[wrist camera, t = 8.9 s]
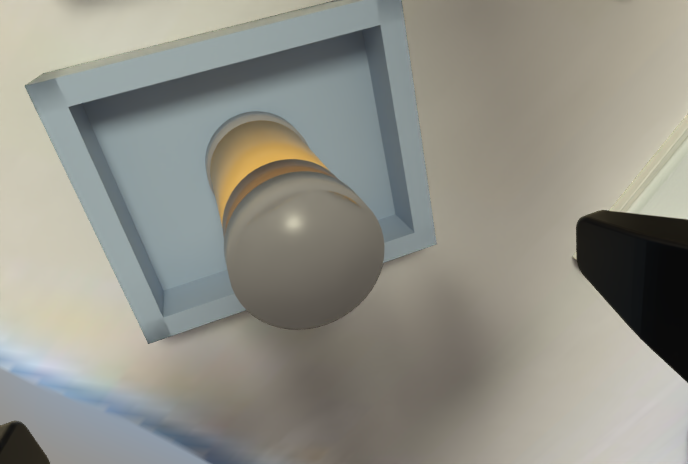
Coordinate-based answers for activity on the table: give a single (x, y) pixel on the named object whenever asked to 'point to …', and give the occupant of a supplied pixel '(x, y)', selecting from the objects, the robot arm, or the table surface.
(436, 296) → the table surface
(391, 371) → the table surface
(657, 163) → the hard drive
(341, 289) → the fuse
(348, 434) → the table surface
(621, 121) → the table surface
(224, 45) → the tray
